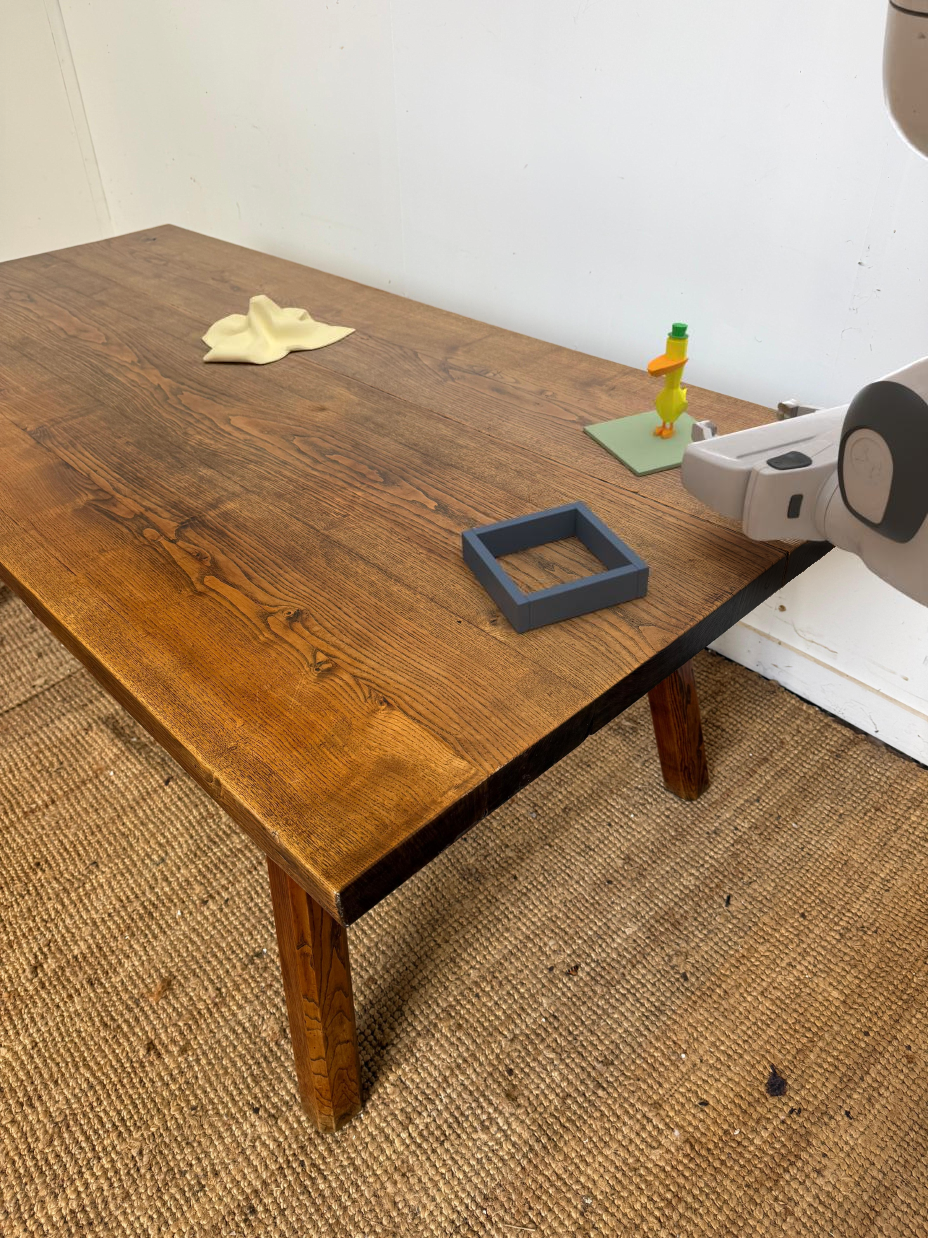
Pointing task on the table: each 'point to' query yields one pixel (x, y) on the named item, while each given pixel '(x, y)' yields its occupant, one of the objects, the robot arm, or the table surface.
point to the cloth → (267, 333)
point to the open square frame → (565, 599)
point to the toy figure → (671, 379)
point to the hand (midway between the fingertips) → (741, 418)
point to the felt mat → (644, 441)
